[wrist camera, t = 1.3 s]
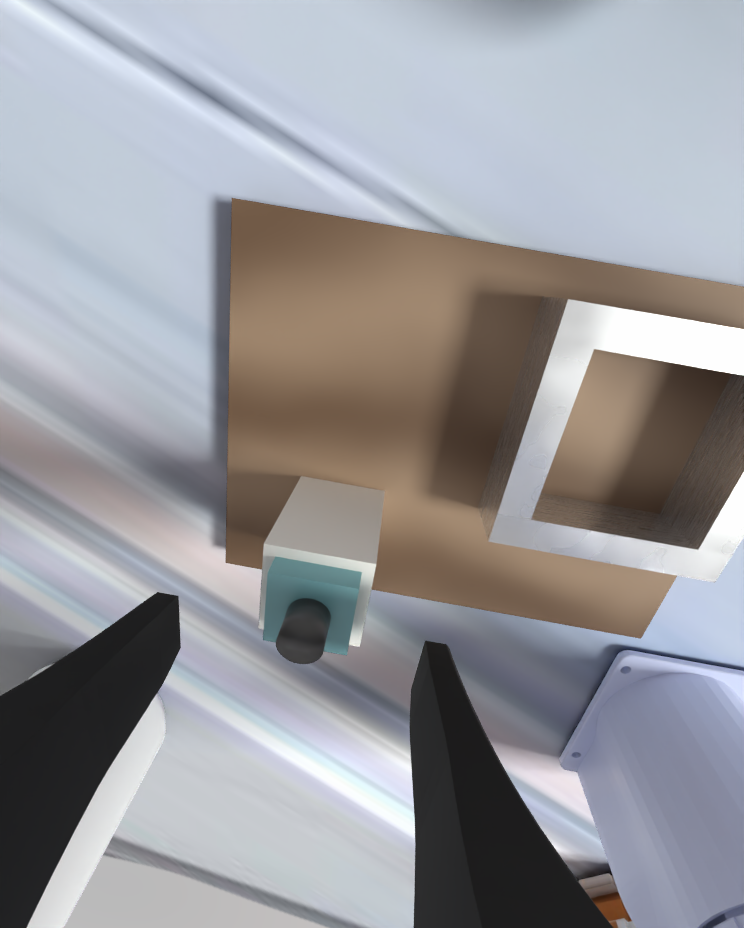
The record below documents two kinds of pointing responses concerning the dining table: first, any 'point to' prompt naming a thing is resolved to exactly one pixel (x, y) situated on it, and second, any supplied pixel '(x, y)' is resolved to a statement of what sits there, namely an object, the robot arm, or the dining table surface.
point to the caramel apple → (607, 899)
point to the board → (447, 402)
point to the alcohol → (100, 818)
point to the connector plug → (320, 569)
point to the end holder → (543, 422)
